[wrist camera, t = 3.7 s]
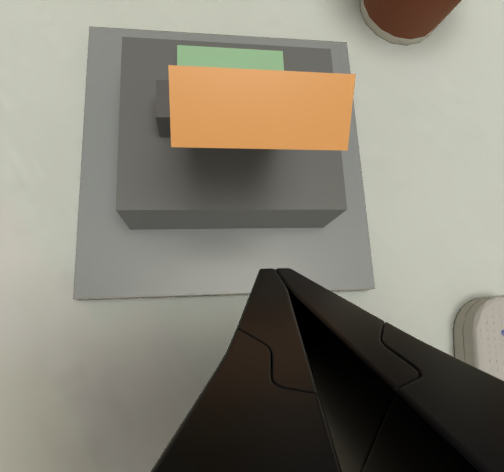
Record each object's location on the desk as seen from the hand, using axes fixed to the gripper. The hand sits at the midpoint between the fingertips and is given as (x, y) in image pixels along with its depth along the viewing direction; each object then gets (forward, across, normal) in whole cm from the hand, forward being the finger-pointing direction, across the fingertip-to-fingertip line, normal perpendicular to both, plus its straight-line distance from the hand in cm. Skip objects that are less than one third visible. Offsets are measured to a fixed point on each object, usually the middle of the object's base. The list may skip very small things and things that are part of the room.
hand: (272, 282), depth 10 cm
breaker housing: (+16, 0, -3) cm, 17 cm away
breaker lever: (+12, 0, +1) cm, 12 cm away
